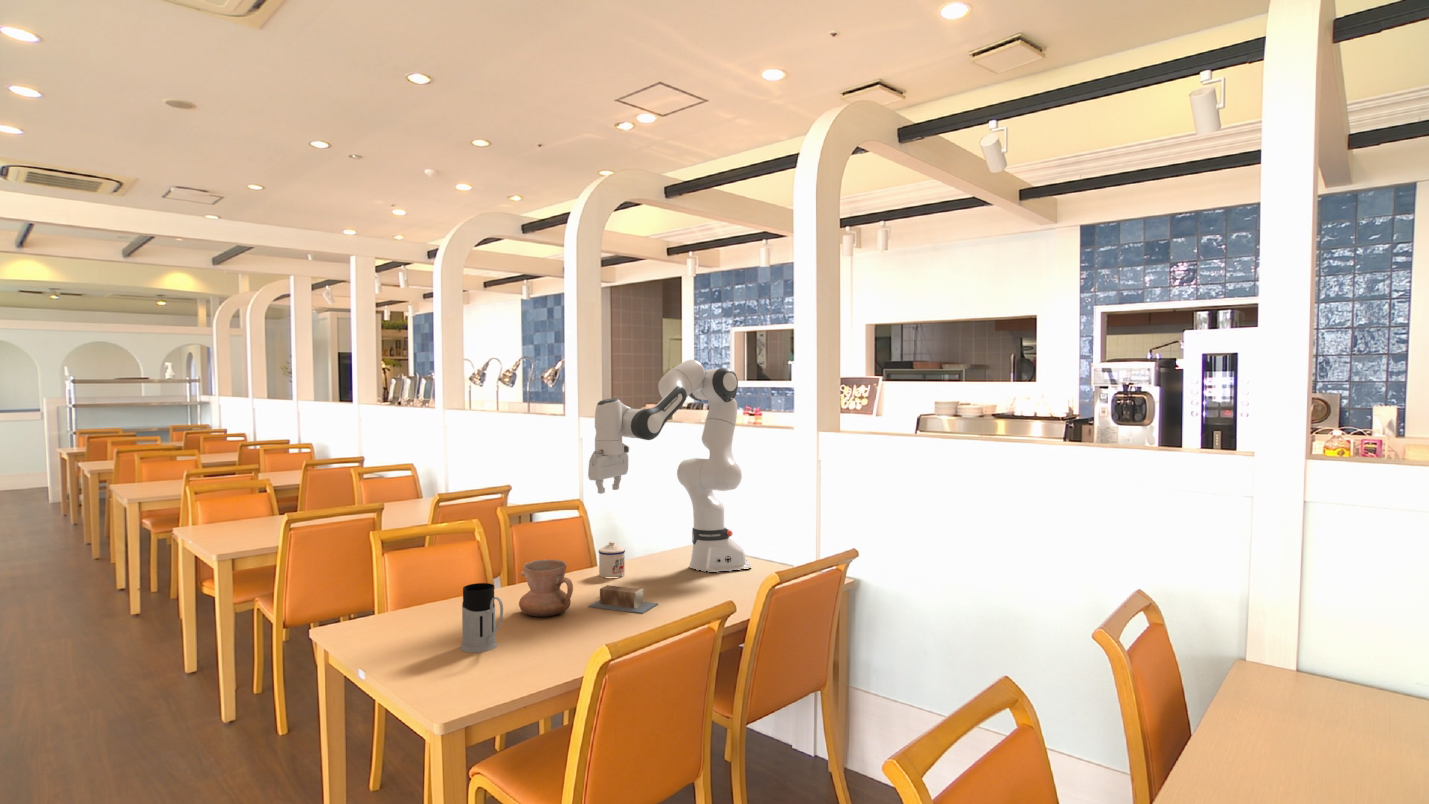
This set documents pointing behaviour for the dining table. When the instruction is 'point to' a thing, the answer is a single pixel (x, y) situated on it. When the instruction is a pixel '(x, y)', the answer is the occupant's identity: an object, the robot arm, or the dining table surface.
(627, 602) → the walnut block
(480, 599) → the glass holder
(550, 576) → the ceramic jug
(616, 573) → the teacup with lid
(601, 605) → the rubber mat
